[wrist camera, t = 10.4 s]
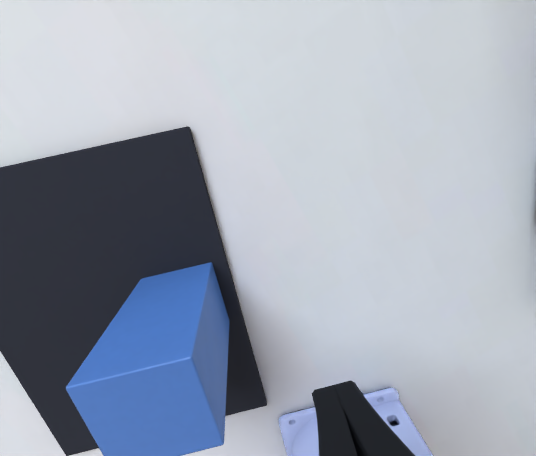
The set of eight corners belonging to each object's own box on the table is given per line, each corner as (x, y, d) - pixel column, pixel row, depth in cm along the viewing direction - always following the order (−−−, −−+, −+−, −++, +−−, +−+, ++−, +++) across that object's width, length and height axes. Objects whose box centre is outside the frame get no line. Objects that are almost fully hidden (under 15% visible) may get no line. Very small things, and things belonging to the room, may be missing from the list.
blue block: (212, 261, 17) (191, 357, 10) (229, 321, 19) (224, 445, 11) (140, 278, 17) (63, 388, 10) (164, 337, 19) (112, 474, 11)
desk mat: (189, 126, 15) (188, 126, 15) (266, 400, 22) (267, 405, 21) (-93, 188, 15) (-102, 189, 14) (69, 450, 21) (66, 456, 21)
